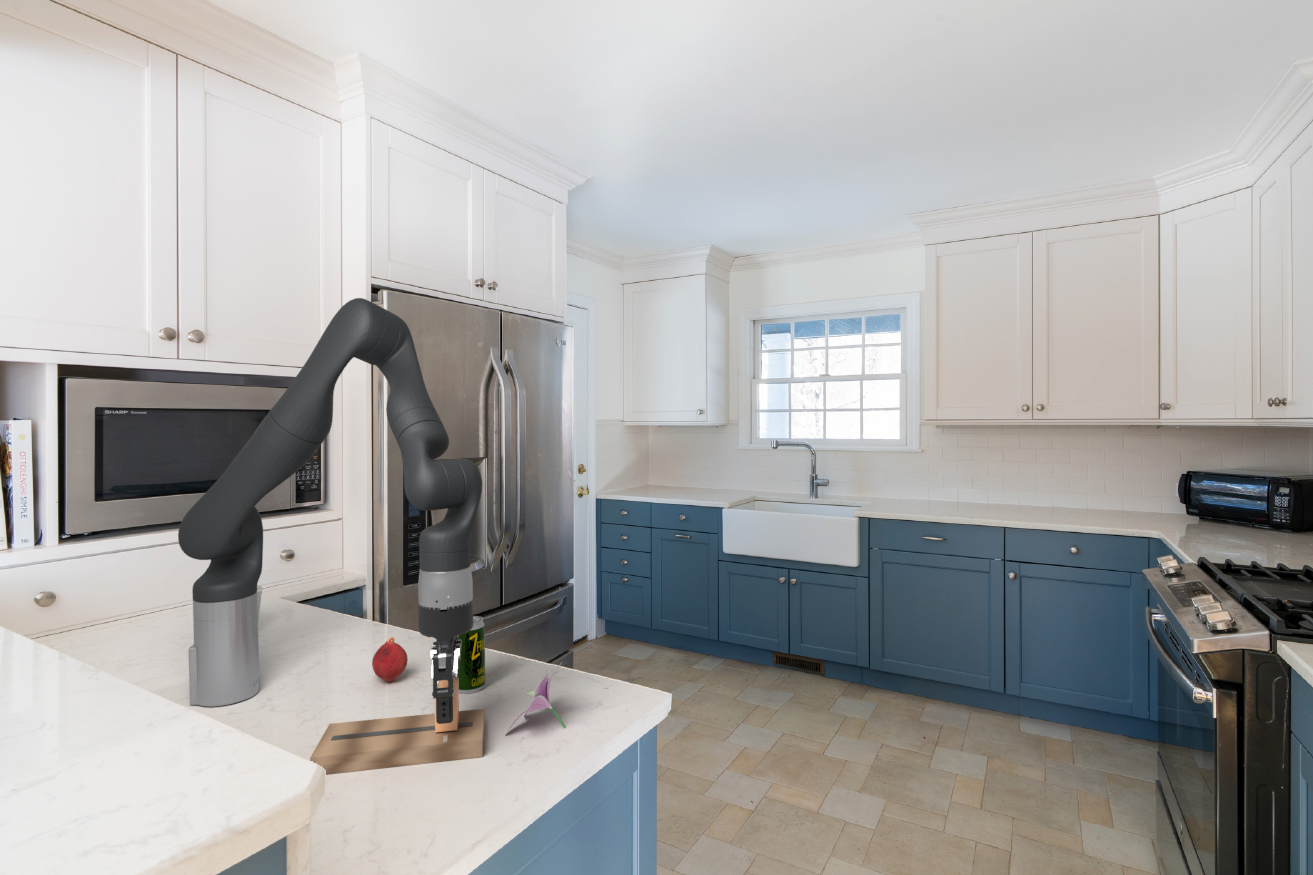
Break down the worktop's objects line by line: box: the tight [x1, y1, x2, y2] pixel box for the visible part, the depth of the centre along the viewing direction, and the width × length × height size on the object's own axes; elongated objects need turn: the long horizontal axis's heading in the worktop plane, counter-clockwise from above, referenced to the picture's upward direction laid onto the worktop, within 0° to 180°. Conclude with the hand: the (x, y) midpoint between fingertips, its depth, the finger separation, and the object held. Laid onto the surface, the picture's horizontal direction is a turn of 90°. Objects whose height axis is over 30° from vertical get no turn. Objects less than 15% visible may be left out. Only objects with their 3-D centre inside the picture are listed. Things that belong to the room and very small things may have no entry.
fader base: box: [309, 708, 486, 775], centre depth 96 cm, size 22×10×3 cm, turn 103°
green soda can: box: [457, 615, 486, 695], centre depth 117 cm, size 5×5×12 cm
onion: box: [371, 636, 408, 683], centre depth 120 cm, size 6×6×8 cm
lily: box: [505, 663, 566, 735], centre depth 102 cm, size 12×12×10 cm
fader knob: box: [434, 678, 460, 732], centre depth 97 cm, size 3×4×6 cm
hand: (447, 709), depth 97 cm, fingers open, 8 cm apart
